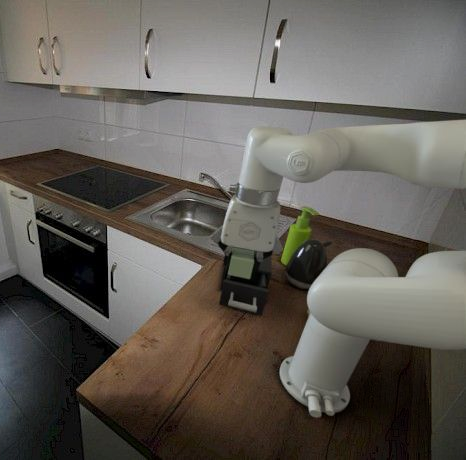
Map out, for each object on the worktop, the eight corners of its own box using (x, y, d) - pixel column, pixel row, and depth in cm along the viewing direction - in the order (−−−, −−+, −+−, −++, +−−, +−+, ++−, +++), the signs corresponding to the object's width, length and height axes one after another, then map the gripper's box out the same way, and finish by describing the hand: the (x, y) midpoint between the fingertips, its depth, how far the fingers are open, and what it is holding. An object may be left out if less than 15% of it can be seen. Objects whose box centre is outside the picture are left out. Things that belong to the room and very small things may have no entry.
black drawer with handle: (261, 328, 77) (268, 304, 74) (216, 316, 81) (221, 293, 77) (262, 287, 92) (268, 265, 88) (223, 279, 95) (228, 257, 92)
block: (249, 279, 67) (254, 261, 65) (228, 274, 68) (231, 257, 66) (250, 267, 71) (254, 251, 69) (229, 263, 72) (232, 247, 70)
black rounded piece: (328, 292, 91) (346, 247, 84) (296, 296, 90) (312, 250, 83) (305, 272, 100) (319, 230, 93) (275, 275, 99) (287, 232, 92)
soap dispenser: (291, 270, 101) (309, 214, 92) (276, 258, 107) (292, 205, 98) (306, 267, 102) (325, 212, 93) (291, 256, 108) (307, 203, 99)
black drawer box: (263, 300, 88) (271, 272, 84) (219, 290, 92) (224, 262, 88) (264, 274, 99) (271, 248, 95) (224, 265, 103) (229, 240, 99)
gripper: (210, 194, 60) (198, 271, 69) (308, 207, 55) (282, 289, 64) (214, 182, 67) (202, 254, 75) (302, 192, 61) (279, 269, 70)
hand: (239, 269), depth 69 cm, fingers closed on block, 4 cm apart
